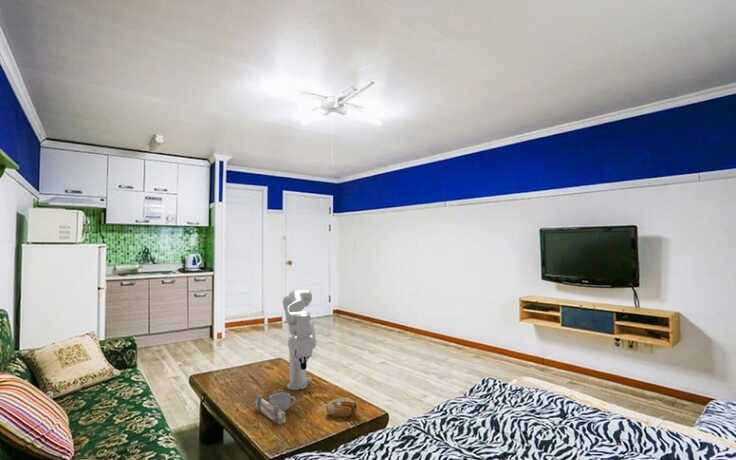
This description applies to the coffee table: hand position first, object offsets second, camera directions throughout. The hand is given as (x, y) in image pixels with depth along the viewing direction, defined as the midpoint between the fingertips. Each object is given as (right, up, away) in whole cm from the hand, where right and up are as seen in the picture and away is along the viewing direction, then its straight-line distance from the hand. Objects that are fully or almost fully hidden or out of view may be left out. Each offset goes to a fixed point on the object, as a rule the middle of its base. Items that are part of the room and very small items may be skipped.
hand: (303, 368), depth 209 cm
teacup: (-9, -19, -10) cm, 23 cm away
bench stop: (-15, -19, -15) cm, 28 cm away
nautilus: (+25, -18, -18) cm, 35 cm away
